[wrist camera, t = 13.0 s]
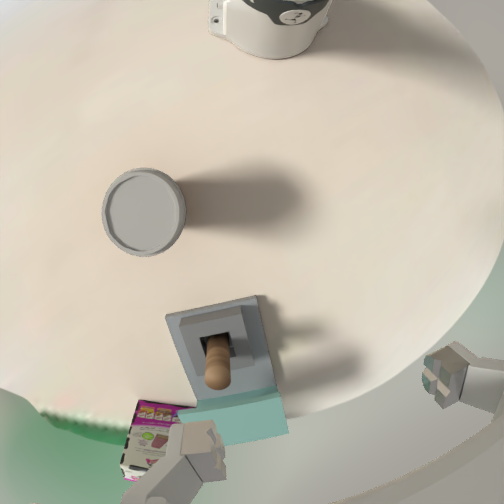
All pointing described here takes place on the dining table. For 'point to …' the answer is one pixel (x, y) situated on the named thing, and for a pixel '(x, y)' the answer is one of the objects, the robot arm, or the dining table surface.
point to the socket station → (242, 371)
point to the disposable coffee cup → (143, 212)
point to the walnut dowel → (218, 362)
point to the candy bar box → (147, 437)
